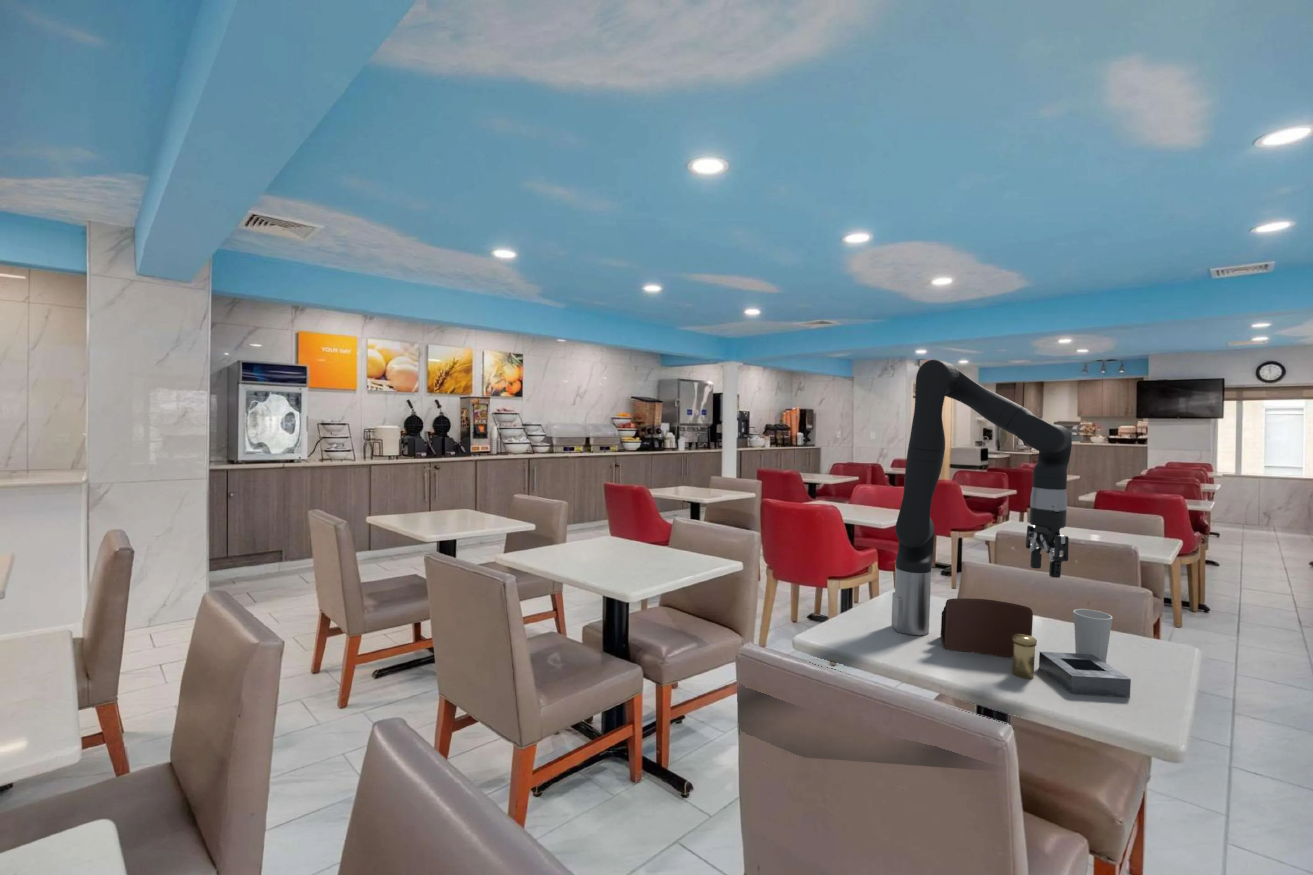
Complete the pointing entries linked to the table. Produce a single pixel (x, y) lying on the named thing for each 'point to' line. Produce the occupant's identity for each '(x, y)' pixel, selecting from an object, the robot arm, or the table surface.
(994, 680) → the table surface
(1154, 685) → the table surface
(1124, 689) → the grey hollow block
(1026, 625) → the letter holder
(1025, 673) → the fitting
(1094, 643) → the cup
